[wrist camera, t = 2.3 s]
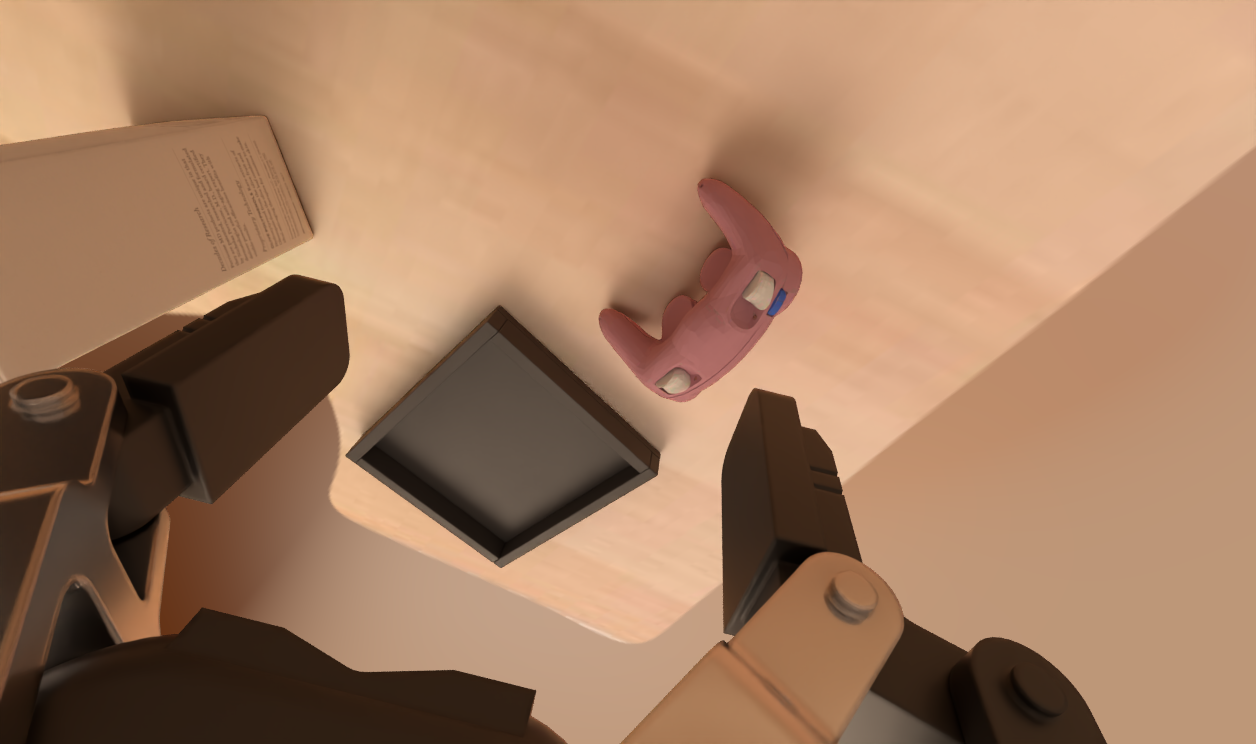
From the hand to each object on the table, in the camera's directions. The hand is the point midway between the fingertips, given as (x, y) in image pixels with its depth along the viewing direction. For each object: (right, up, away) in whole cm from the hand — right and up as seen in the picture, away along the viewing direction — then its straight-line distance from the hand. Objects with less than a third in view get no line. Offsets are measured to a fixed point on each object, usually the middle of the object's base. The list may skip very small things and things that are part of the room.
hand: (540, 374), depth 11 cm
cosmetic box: (-19, +10, +18) cm, 28 cm away
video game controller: (+5, +5, +18) cm, 19 cm away
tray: (-6, -5, +25) cm, 27 cm away
